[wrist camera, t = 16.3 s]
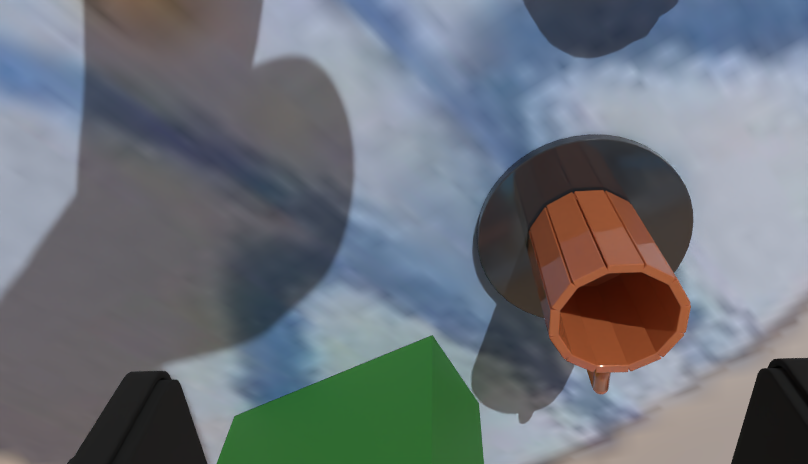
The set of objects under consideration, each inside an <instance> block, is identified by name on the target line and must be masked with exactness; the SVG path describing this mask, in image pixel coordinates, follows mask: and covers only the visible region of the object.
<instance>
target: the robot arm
mask: <svg viewBox="0 0 808 464" xmlns="http://www.w3.org/2000/svg"><path fill="white" fill-rule="evenodd" d="M67 464H207V462H206V459H205V456H204V453H203V450H202V447H201V444H200V441H199V438H198V435H197V432H196V429H195V426H194V423H193V420H192V417H191V414H190V411H189V408H188V405H187V402H186V399H185V396H184V393H183V390H182V387H181V385H180V383H179V381H178V380H172V379H171V377H170V375H169V374H168V373H167V372H166V371H143V372H130V373H128V374H127V375H126V376H125V377H124V378H123V380H122V381H121V383H120V385H119V386H118V388H117V389H116V391H115V393H114V394H113V396H112V397H111V399H110V401H109V402H108V404H107V405H106V407H105V408H104V410H103V412H102V413H101V415H100V416H99V418H98V420H97V421H96V423H95V424H94V426H93V428H92V429H91V431H90V432H89V434H88V435H87V437H86V439H85V440H84V442H83V443H82V445H81V447H80V448H79V450H78V451H77V453H76V454H75V456H74V457H73V458H72V459H70V461H69V462H68V463H67ZM731 464H808V358H786V359H774V360H772V361H771V362H770V364H769V366H768V368H764V369H761V370H760V371H759V373H758V375H757V378H756V382H755V385H754V388H753V392H752V395H751V398H750V402H749V406H748V409H747V412H746V415H745V419H744V422H743V426H742V429H741V432H740V436H739V439H738V442H737V446H736V449H735V452H734V456H733V459H732V463H731Z"/></svg>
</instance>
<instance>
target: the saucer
mask: <svg viewBox="0 0 808 464" xmlns="http://www.w3.org/2000/svg"><path fill="white" fill-rule="evenodd" d="M594 190H604V192H605V191H608V192H610V193H612V194H614V195H616V196H618V197H620V198H622V199H624V200H626V201H628V202H629V203H630V204H632V206H633V207H634V209H635V211H636V212H637V214H638V216H639V217H640V219H641V220H642V222H643V224H644V225H645V227H646V229H647V230H648V232H649V233H650V235H651V237H652V238H653V240H654V242H655V243H656V245H657V246H658V248H659V250H660V251H661V253H662V255H663V256H664V258H665V259H666V261H667V263H668V264H669V266H670V268H671V269H672V271H673V272H675V271H676V270H677V268H678V267H679V265H680V263H681V261H682V260H683V258H684V256H685V254H686V251H687V249H688V247H689V243H690V239H691V236H692V229H693V209H692V204H691V199H690V196H689V193H688V191H687V188H686V186H685V184H684V183H683V181H682V179H681V178H680V176H679V175H678V174H677V172H676V171H675V170H674V169H673V168H672V167H671V165H670V164H669V163H668V162H667V161H666V160H665V159H664V158H662V157H661V156H660V155H659V154H658V153H656V152H655V151H653V150H651V149H650V148H648V147H647V146H645V145H642V144H640V143H638V142H635V141H633V140H629V139H626V138H622V137H617V136H610V135H581V136H573V137H569V138H565V139H560V140H557V141H555V142H552V143H549V144H546V145H544V146H542V147H540V148H538V149H536V150H534V151H532V152H530V153H529V154H527V155H526V156H524V157H522V158H521V159H519V160H518V161H517V162H516V163H515V164H513V165H512V166H511V167H510V168H509V169H508V170H507V171H506V172H505V173H504V174H503V175H502V176H501V177H500V178H499V179H498V181H497V182H496V183H495V185H494V186H493V188H492V189H491V191H490V192H489V194H488V196H487V198H486V200H485V202H484V205H483V207H482V210H481V213H480V217H479V222H478V229H477V242H478V252H479V257H480V261H481V264H482V267H483V269H484V272H485V274H486V276H487V277H488V279H489V281H490V282H491V284H492V285H493V286H494V288H495V289H496V290H497V291H498V292H499V293H500V294H501V295H502V296H503V297H504V298H505V299H506V300H507V301H509V302H510V303H512V304H513V305H515V306H516V307H518V308H520V309H522V310H524V311H525V312H527V313H530V314H533V315H536V316H538V317H542V318H544V315H543V311H542V307H541V303H540V299H539V295H538V291H537V287H536V283H535V279H534V275H533V271H532V267H531V263H530V259H529V255H528V242H529V231H530V228H531V226H532V225H533V223H534V222H535V220H536V219H537V218H538V216H539V215H540V213H541V212H542V210H543V209H544V208H547V205H548V204H550V203H552V202H554V201H556V200H558V199H560V198H562V197H563V196H565V195H567V194H569V193H571V192H573V193H574V192H575V191H594Z"/></svg>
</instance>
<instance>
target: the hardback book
mask: <svg viewBox="0 0 808 464" xmlns="http://www.w3.org/2000/svg"><path fill="white" fill-rule="evenodd" d="M217 464H484V459H483V447H482V435H481V423H480V412H479V403H478V401H477V400H476V399H475V397H474V396H473V394H472V393H471V391H470V390H469V388H468V387H467V385H466V384H465V382H464V381H463V379H462V378H461V377H460V375H459V374H458V372H457V371H456V369H455V368H454V366H453V365H452V363H451V362H450V360H449V359H448V357H447V356H446V354H445V353H444V352H443V350H442V349H441V347H440V346H439V344H438V343H437V341H436V340H435V338H434V337H433V335H432V336H430V337H427V338H425V339H422V340H420V341H417V342H415V343H412V344H410V345H408V346H405V347H403V348H400V349H398V350H395V351H393V352H390V353H388V354H386V355H383V356H381V357H378V358H376V359H373V360H371V361H368V362H366V363H364V364H361V365H359V366H356V367H354V368H351V369H349V370H346V371H344V372H342V373H339V374H337V375H334V376H332V377H329V378H327V379H324V380H322V381H320V382H317V383H315V384H312V385H310V386H307V387H305V388H302V389H300V390H298V391H295V392H293V393H290V394H288V395H285V396H283V397H280V398H278V399H276V400H273V401H271V402H268V403H266V404H263V405H261V406H258V407H256V408H254V409H251V410H249V411H246V412H244V413H241V414H239V415H236V416H235V417H234V419H233V422H232V425H231V427H230V430H229V432H228V435H227V438H226V440H225V443H224V446H223V448H222V451H221V454H220V456H219V459H218V462H217Z"/></svg>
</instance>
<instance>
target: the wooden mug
mask: <svg viewBox="0 0 808 464" xmlns="http://www.w3.org/2000/svg"><path fill="white" fill-rule="evenodd" d="M528 255H529V259H530V263H531V267H532V271H533V275H534V279H535V283H536V287H537V291H538V295H539V299H540V303H541V307H542V311H543V315H544V319H545V323H546V327H547V331H548V335H549V338H550V340H551V341H552V343H553V344H554V345H555V347H556V348H557V350H558V351H559V353H560V354H561V355H562V357H563V358H564V359H566V361H568V362H570V363H572V364H575V365H577V366H580V367H582V368H584V369H587V372H588V375H589V378H590V381H591V385H592V388H593V390H594V391H595V392H596V393H598V394H605V393H606V392H607V391H608V389H609V381H610V374H611V372H628V368H629V370H630V371H633V370H635V369H638V368H640V367H642V366H645V365H647V364H650V363H652V362H654V361H657V360H659V359H661V357H660V356H662V357H664V356H665V355H666V354H667V353H668V352H669V351H670V350H671V349H672V347H673V346H674V345H675V344H676V343H677V342H678V341H679V340H680V339H681V338H682V337H683V336H684V333H685V332H686V328H687V323H688V318H689V313H690V308H691V305H690V301H689V299H688V297H687V295H686V294H685V292H684V290H683V288H682V286H681V284H680V283H679V281H678V279H677V277H676V276H675V274H674V272H673V271H672V269H671V268H670V266H669V264H668V263H667V261H666V259H665V258H664V256H663V255H662V253H661V251H660V250H659V248H658V246H657V245H656V243H655V242H654V240H653V238H652V237H651V235H650V233H649V232H648V230H647V229H646V227H645V225H644V224H643V222H642V220H641V219H640V217H639V216H638V214H637V212H636V211H635V209H634V207H633V206H632V204H630V203H629V202H628V201H626V200H624V199H622V198H620V197H618V196H616V195H614V194H612V193H610V192H608V191H605V192H604V190H594V191H575V192H574V193H573V192H571V193H569V194H567V195H565V196H563V197H562V198H560V199H558V200H556V201H554V202H552V203H550V204H548V205H547V208H544V209H543V210H542V212H541V213H540V215H539V216H538V218H537V219H536V220H535V222H534V223H533V225H532V226H531V228H530V231H529V242H528Z"/></svg>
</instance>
